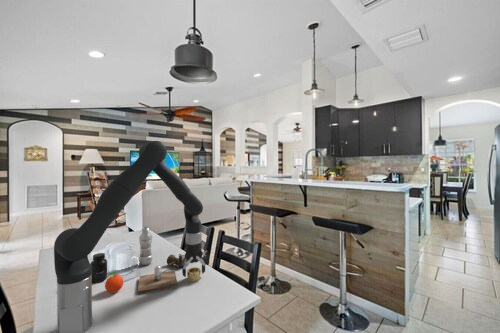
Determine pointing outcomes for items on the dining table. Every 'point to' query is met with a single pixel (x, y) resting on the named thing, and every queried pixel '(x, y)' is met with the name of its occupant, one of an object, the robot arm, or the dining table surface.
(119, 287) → the clementine
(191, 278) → the brass ring
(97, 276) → the supplement bottle
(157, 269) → the steel post
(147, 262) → the plastic bottle
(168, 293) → the dining table surface
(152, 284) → the walnut base plate
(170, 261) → the kendama
